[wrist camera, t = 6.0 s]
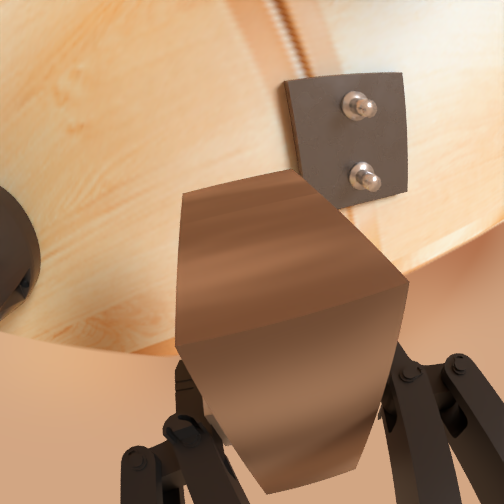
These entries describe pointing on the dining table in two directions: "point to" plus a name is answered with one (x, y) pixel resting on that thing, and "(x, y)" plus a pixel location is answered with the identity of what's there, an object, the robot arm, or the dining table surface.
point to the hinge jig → (350, 135)
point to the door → (285, 324)
